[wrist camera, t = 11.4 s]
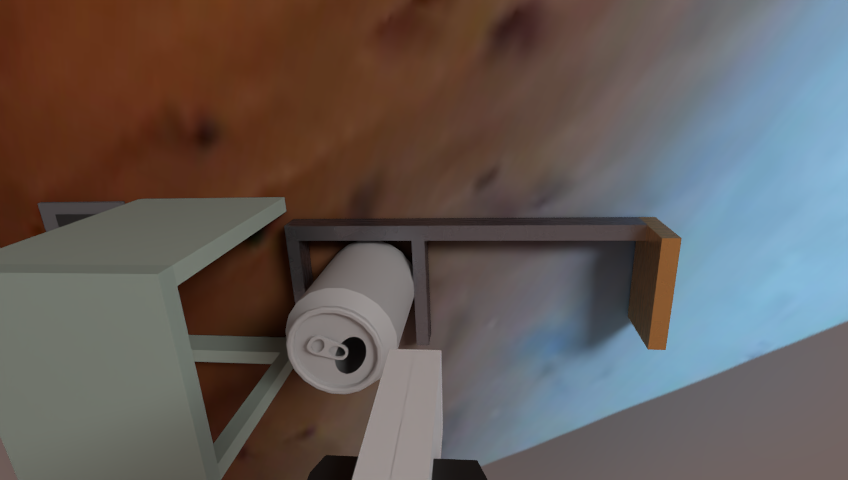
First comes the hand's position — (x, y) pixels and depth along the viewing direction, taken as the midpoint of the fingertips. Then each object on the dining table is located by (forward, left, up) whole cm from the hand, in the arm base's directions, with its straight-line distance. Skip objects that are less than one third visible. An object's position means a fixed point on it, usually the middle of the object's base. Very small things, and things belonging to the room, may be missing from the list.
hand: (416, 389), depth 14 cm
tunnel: (-21, -7, -25) cm, 33 cm away
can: (-7, -7, -25) cm, 27 cm away
